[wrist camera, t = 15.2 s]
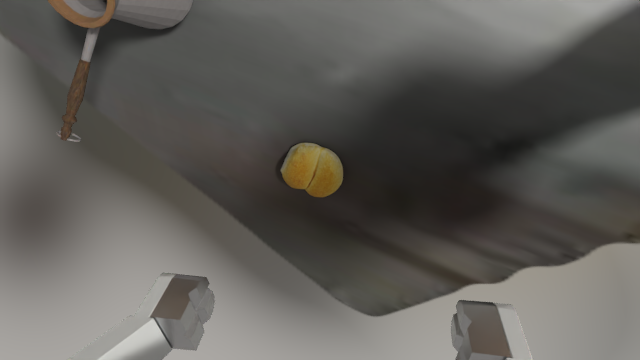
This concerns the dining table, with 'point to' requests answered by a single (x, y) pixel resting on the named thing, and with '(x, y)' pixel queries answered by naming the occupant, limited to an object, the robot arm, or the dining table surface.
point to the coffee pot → (95, 11)
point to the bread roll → (313, 169)
